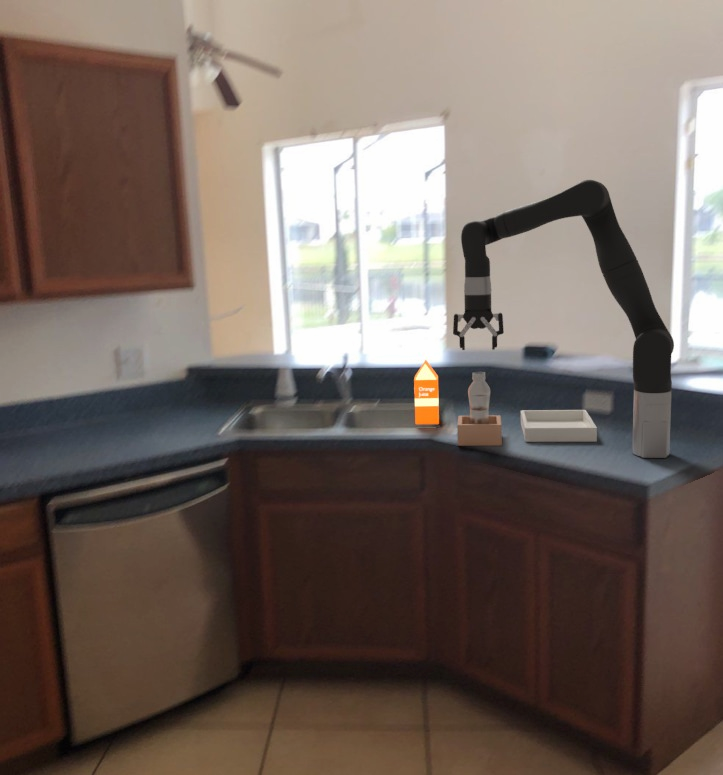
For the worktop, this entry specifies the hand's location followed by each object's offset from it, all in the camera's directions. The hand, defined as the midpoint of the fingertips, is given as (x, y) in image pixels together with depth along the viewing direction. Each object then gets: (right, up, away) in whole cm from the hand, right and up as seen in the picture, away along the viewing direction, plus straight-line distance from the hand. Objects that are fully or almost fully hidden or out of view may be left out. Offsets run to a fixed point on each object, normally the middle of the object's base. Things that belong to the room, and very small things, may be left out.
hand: (478, 349), depth 221 cm
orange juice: (-12, -22, +32) cm, 41 cm away
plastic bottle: (+1, -27, +5) cm, 27 cm away
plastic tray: (+25, -24, +11) cm, 37 cm away
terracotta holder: (+1, -26, +5) cm, 27 cm away
